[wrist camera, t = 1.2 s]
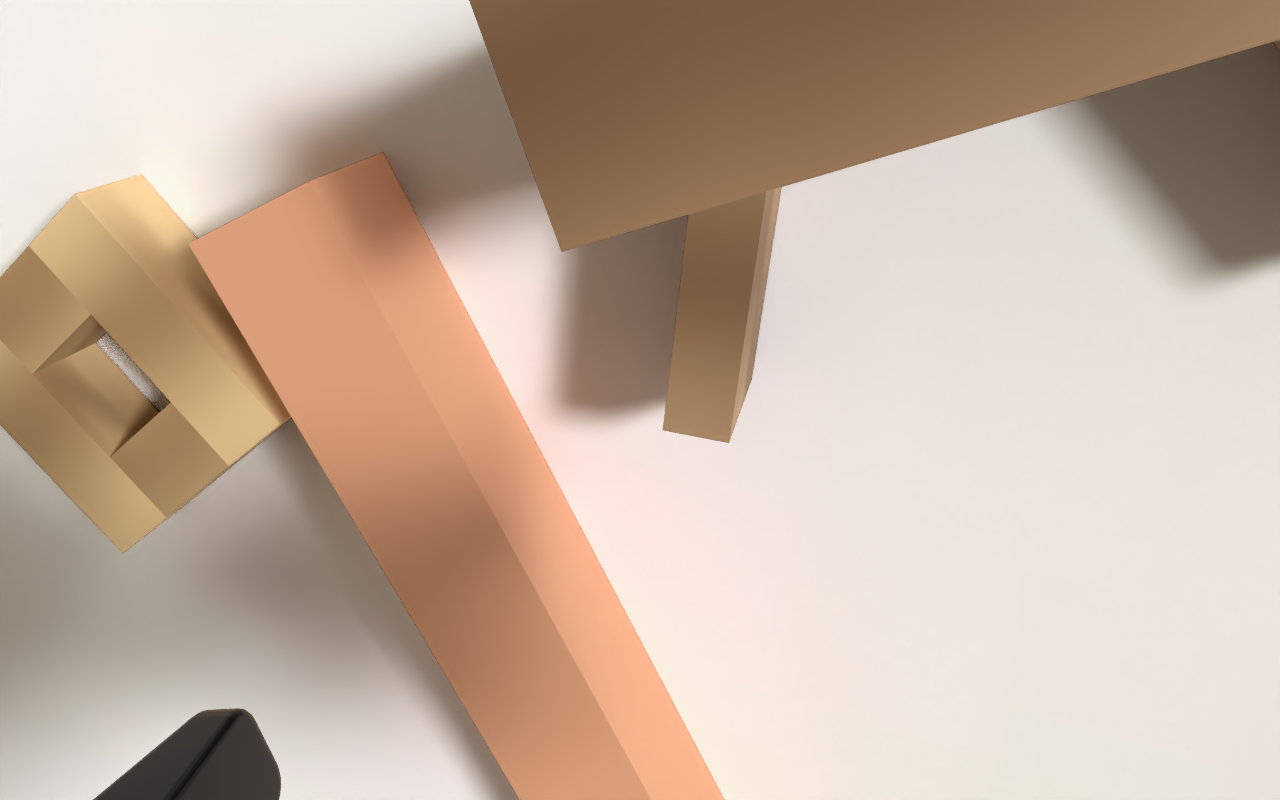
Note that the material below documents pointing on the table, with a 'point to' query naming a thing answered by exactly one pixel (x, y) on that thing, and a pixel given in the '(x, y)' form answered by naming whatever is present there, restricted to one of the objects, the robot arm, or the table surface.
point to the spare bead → (151, 336)
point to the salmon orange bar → (450, 488)
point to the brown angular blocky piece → (791, 118)
